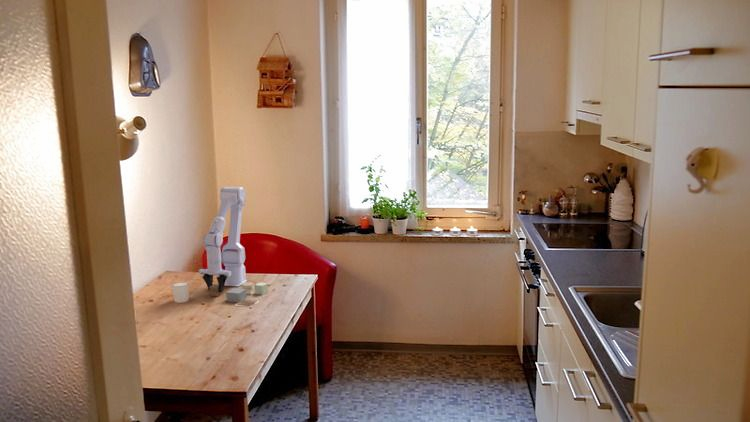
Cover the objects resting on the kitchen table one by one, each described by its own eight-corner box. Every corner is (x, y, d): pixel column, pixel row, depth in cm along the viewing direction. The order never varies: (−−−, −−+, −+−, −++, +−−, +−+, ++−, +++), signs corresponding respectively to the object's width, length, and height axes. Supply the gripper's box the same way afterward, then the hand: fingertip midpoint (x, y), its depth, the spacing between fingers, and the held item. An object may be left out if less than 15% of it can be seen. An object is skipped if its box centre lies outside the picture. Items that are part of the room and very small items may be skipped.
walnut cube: (214, 293, 289) (214, 284, 288) (222, 293, 287) (222, 284, 287) (209, 295, 285) (209, 286, 284) (218, 296, 284) (217, 287, 283)
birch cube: (244, 291, 290) (243, 282, 290) (253, 291, 290) (253, 282, 289) (242, 294, 286) (241, 285, 286) (251, 294, 286) (251, 285, 286)
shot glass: (179, 304, 274) (178, 287, 273) (169, 301, 278) (168, 285, 277) (193, 299, 279) (192, 283, 278) (183, 297, 283) (182, 281, 282)
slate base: (234, 297, 283) (233, 288, 282) (246, 298, 281) (246, 289, 280) (226, 301, 277) (226, 292, 276) (239, 302, 275) (238, 293, 274)
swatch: (243, 300, 278) (243, 298, 277) (259, 301, 275) (259, 300, 275) (235, 305, 271) (235, 304, 271) (251, 307, 269) (251, 305, 269)
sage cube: (260, 291, 290) (260, 282, 289) (268, 292, 288) (267, 283, 288) (255, 293, 287) (254, 284, 286) (262, 294, 285) (262, 285, 284)
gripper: (194, 261, 282) (196, 292, 284) (224, 264, 277) (226, 295, 280) (203, 257, 288) (204, 288, 291) (232, 259, 284) (234, 290, 287)
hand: (216, 291), depth 286 cm, fingers open, 4 cm apart
